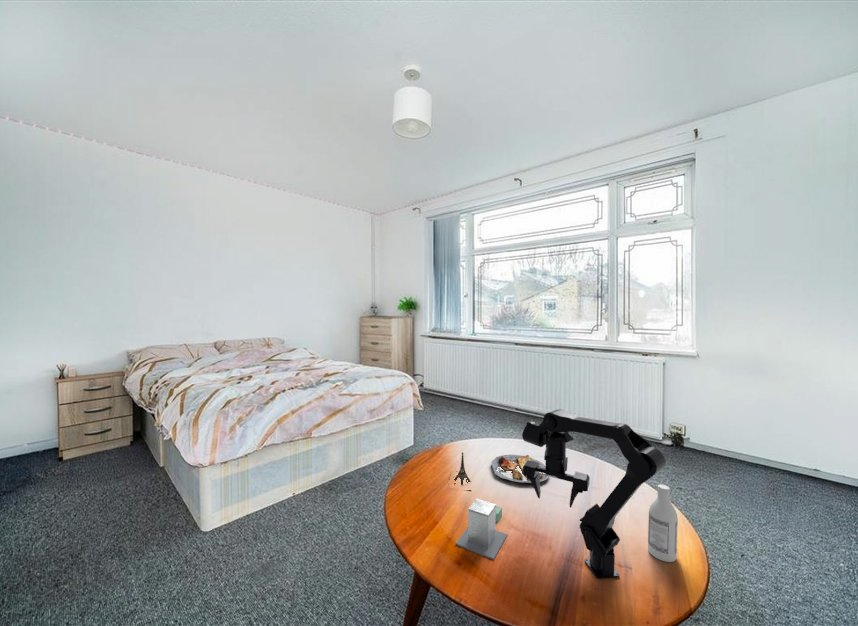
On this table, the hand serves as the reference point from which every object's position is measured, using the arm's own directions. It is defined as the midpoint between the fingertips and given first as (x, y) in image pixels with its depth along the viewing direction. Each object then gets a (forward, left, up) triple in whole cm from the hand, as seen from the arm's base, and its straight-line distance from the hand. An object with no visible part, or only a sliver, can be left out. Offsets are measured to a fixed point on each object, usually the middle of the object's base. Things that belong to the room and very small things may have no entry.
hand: (554, 502), depth 106 cm
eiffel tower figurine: (+38, +22, -13) cm, 46 cm away
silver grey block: (+2, +22, -12) cm, 25 cm away
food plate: (+44, -5, -12) cm, 46 cm away
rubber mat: (+2, +22, -12) cm, 25 cm away
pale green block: (+13, +15, -12) cm, 23 cm away
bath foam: (-8, -29, -12) cm, 32 cm away
